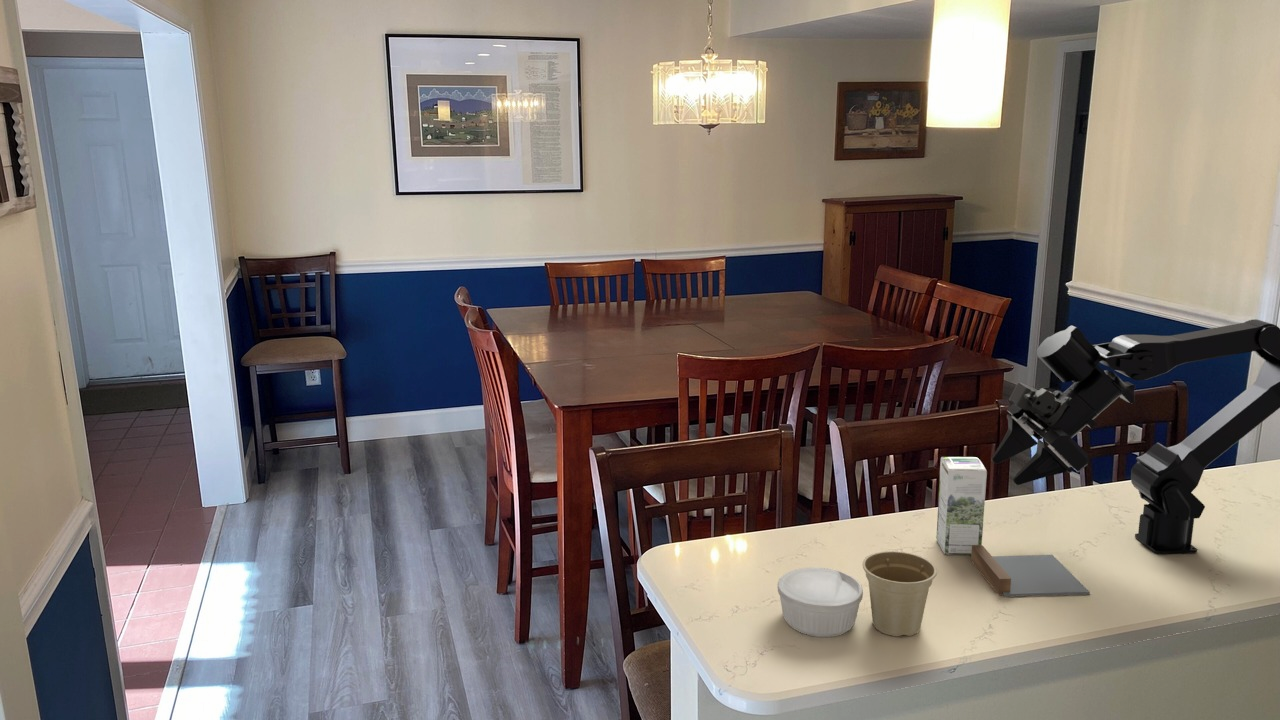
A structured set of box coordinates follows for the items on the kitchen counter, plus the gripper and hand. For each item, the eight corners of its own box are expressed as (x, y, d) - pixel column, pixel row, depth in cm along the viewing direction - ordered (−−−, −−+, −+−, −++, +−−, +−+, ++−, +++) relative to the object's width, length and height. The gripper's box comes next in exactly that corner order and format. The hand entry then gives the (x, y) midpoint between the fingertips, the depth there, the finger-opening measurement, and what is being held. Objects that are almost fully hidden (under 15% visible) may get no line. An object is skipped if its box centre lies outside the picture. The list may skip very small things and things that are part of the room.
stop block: (981, 560, 140) (982, 545, 139) (1009, 594, 129) (1011, 578, 128) (971, 560, 140) (971, 545, 139) (998, 595, 129) (999, 578, 128)
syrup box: (972, 540, 147) (977, 455, 143) (982, 556, 141) (987, 468, 138) (935, 540, 147) (939, 454, 144) (944, 556, 142) (948, 467, 138)
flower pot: (935, 613, 125) (937, 555, 123) (932, 649, 116) (935, 587, 114) (864, 604, 128) (866, 547, 126) (857, 638, 119) (859, 577, 117)
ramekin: (877, 634, 120) (878, 597, 119) (800, 649, 117) (800, 611, 116) (836, 595, 131) (837, 561, 129) (764, 608, 128) (764, 573, 126)
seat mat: (1052, 556, 140) (1052, 554, 140) (1089, 594, 128) (1089, 591, 128) (973, 559, 140) (974, 556, 140) (1004, 596, 129) (1004, 594, 128)
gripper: (1023, 352, 146) (950, 419, 149) (1073, 381, 128) (989, 457, 131) (1069, 399, 148) (996, 464, 150) (1125, 434, 129) (1040, 508, 132)
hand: (1003, 471), depth 141 cm, fingers open, 9 cm apart
